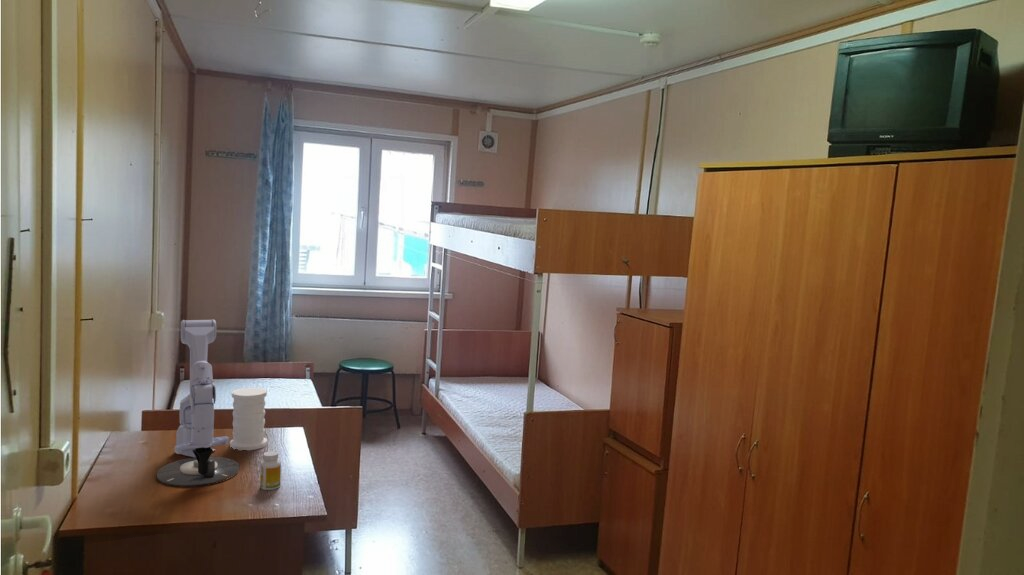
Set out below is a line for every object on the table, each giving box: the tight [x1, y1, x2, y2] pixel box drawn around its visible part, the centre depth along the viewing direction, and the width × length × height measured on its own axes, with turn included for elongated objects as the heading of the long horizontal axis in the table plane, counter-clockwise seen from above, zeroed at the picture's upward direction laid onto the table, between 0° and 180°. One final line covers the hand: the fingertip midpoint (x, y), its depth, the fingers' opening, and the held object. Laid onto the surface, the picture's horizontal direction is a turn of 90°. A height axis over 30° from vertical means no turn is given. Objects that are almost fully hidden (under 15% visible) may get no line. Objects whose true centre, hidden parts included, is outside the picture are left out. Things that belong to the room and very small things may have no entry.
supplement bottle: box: [259, 450, 282, 491], centre depth 198 cm, size 5×5×10 cm
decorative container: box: [229, 387, 268, 451], centre depth 231 cm, size 12×12×18 cm
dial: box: [180, 459, 218, 477], centre depth 205 cm, size 14×10×5 cm
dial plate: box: [156, 456, 240, 488], centre depth 206 cm, size 22×22×1 cm
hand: (202, 473), depth 199 cm, fingers closed, pressing on dial
